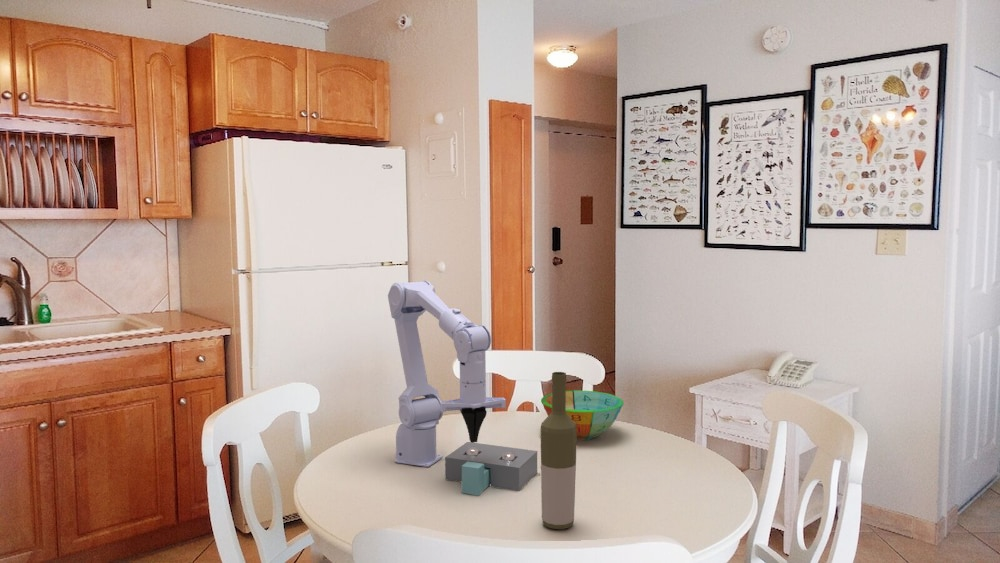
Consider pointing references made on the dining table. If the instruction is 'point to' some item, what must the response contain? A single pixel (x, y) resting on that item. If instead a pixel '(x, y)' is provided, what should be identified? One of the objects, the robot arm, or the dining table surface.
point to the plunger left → (472, 451)
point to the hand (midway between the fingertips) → (473, 441)
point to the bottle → (558, 460)
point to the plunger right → (508, 456)
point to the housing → (494, 464)
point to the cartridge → (475, 478)
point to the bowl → (589, 411)
